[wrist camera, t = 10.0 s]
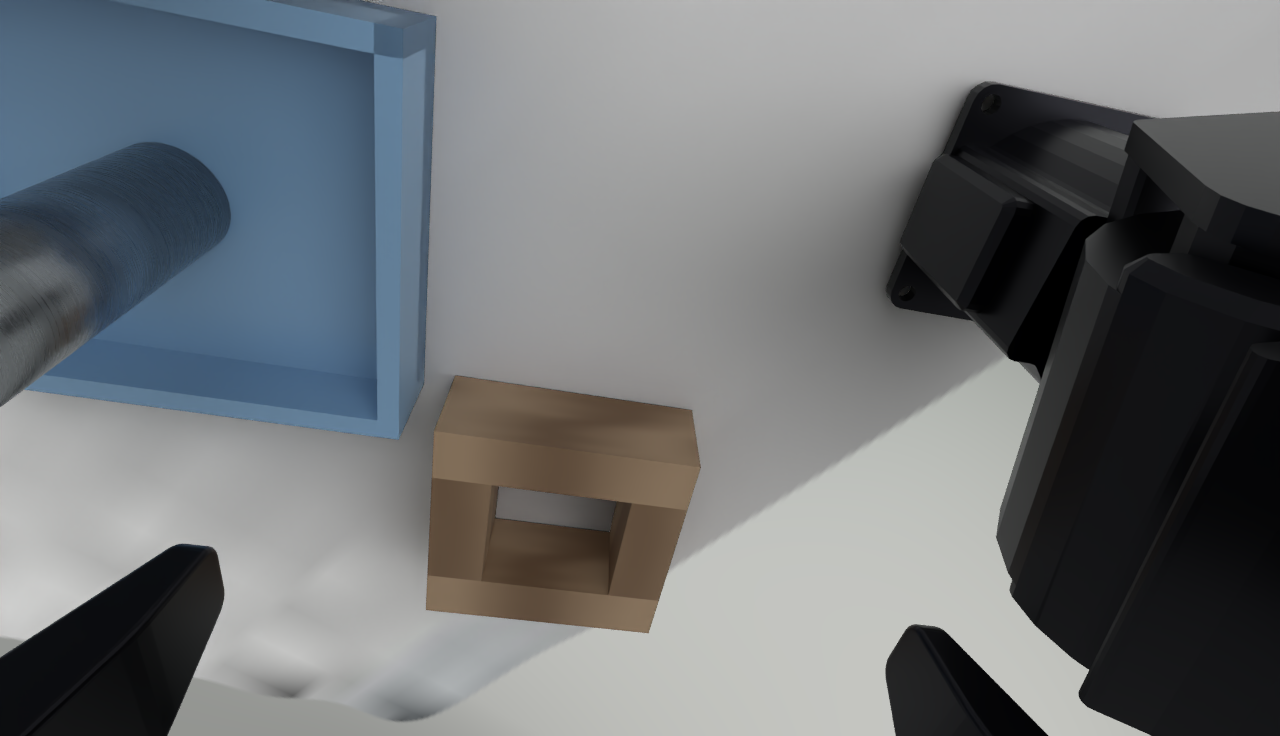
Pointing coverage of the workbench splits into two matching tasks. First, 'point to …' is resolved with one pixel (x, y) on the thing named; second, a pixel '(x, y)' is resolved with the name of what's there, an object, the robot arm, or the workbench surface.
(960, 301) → the robot arm
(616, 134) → the workbench surface
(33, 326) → the pin
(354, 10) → the tray
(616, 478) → the hole block
